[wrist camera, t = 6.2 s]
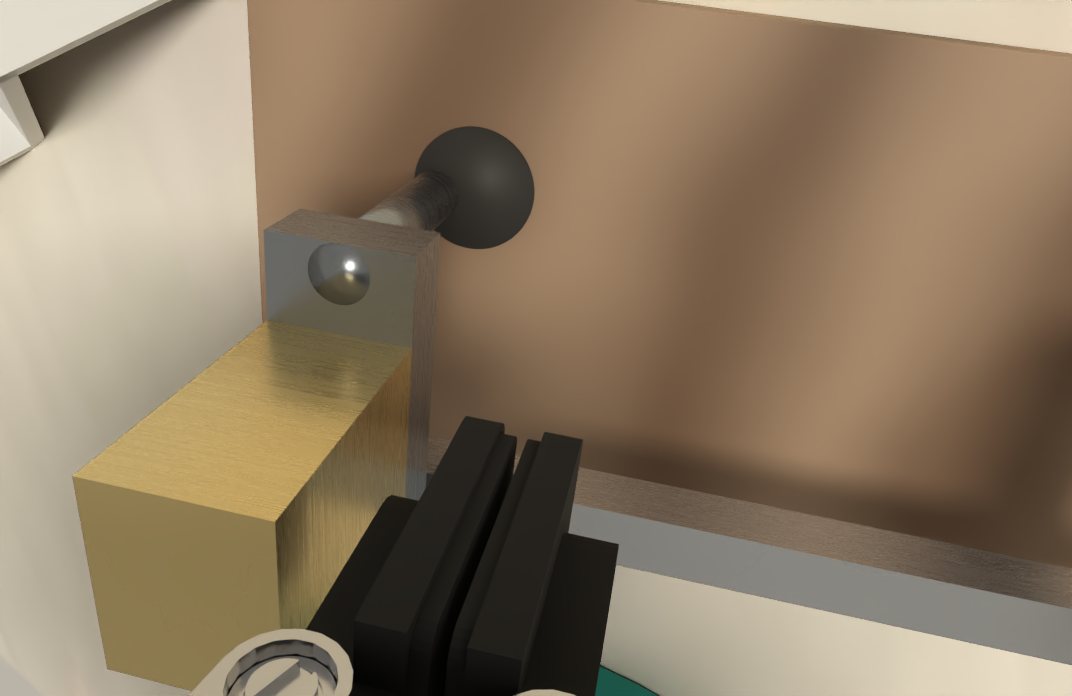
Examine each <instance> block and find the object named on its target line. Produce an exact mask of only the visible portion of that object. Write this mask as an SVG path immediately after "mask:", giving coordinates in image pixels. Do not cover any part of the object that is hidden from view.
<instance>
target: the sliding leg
mask: <svg viewBox="0 0 1072 696" xmlns="http://www.w3.org/2000/svg"><path fill="white" fill-rule="evenodd" d="M457 203H458V192H457V189H456V186H455V185H454V183H453V182H452V180H451V179H450V178H449V177H448V176H446V175H445V174H443V173H441V172H438V171H426V172H423V173H421V174H420V175H418V176H417V177H415V178H414V179H413V180H411V181H410V182H408V183H407V184H406V185H404V186H403V187H402V188H400V189H399V190H397V191H396V192H395V193H393V194H392V195H390V196H389V197H388V198H386V199H385V200H383V201H382V202H381V203H379V204H378V205H376V206H375V207H374V208H372V209H371V210H369V211H368V212H367V213H365V214H364V215H363V216H361V217H360V218H352V217H346V216H341V215H335V214H329V213H323V212H317V211H311V210H306V209H298V210H296V211H295V212H293V213H291V214H290V215H288V216H286V217H284V218H283V219H281V220H279V221H278V222H276V223H274V224H273V225H271V226H269V227H268V228H266V229H264V230H263V232H264V255H265V277H266V299H267V321H266V322H264V323H263V324H262V325H261V326H259V327H258V328H257V329H256V330H254V331H253V332H252V333H251V334H249V335H248V336H247V337H246V338H244V339H243V340H242V341H241V342H239V343H238V344H237V345H236V346H234V347H233V348H232V349H231V350H229V351H228V352H227V353H226V354H224V355H223V356H222V357H221V358H219V359H218V360H217V361H216V362H214V363H213V364H212V365H211V366H209V367H208V368H207V369H206V370H204V371H203V372H202V373H201V374H199V375H198V376H197V377H196V378H194V379H193V380H192V381H191V382H189V383H188V384H187V385H186V386H184V387H183V388H182V389H181V390H179V391H178V392H177V393H176V394H174V395H173V396H172V397H171V398H169V399H168V400H167V401H166V402H164V403H163V404H162V405H161V406H159V407H158V408H157V409H156V410H154V411H153V412H152V413H151V414H149V415H148V416H147V417H146V418H144V419H143V420H142V421H141V422H139V423H138V424H137V425H136V426H134V427H133V428H132V429H131V430H129V431H128V432H127V433H126V434H124V435H123V436H122V437H121V438H119V439H118V440H117V441H116V442H114V443H113V444H112V445H111V446H109V447H108V448H107V449H106V450H104V451H103V452H102V453H101V454H99V455H98V456H97V457H96V458H94V459H93V460H92V461H91V462H89V463H88V464H87V465H86V466H84V467H83V468H82V469H80V470H79V471H78V472H77V473H75V474H74V475H73V476H72V477H73V483H74V488H75V494H76V499H77V505H78V510H79V516H80V521H81V527H82V532H83V538H84V543H85V549H86V554H87V560H88V565H89V571H90V576H91V582H92V587H93V593H94V598H95V604H96V609H97V615H98V620H99V626H100V631H101V637H102V642H103V648H104V653H105V659H106V664H107V669H109V670H113V671H117V672H121V673H125V674H129V675H133V676H136V677H140V678H144V679H148V680H152V681H156V682H160V683H164V684H167V685H171V686H175V687H179V688H183V689H187V690H191V691H193V690H194V689H195V688H196V687H197V686H198V685H199V684H200V682H201V681H202V680H203V679H204V678H205V677H206V676H207V675H208V674H209V673H210V672H211V671H212V670H213V668H214V667H215V666H216V665H217V664H218V663H219V662H220V661H221V660H222V659H223V658H224V657H225V656H226V655H227V654H229V653H230V652H231V651H232V650H233V649H235V648H236V647H237V646H238V645H239V644H241V643H243V642H245V641H247V640H249V639H251V638H253V637H255V636H257V635H259V634H263V633H267V632H271V631H275V630H280V629H305V630H306V628H307V626H308V625H309V623H310V622H311V620H312V618H313V617H314V615H315V613H316V612H317V610H318V608H319V607H320V605H321V603H322V602H323V600H324V599H325V597H326V595H327V594H328V592H329V590H330V589H331V587H332V585H333V584H334V582H335V580H336V579H337V577H338V576H339V574H340V572H341V571H342V569H343V567H344V566H345V564H346V562H347V561H348V559H349V557H350V556H351V554H352V553H353V551H354V549H355V548H356V546H357V544H358V543H359V541H360V539H361V538H362V536H363V534H364V533H365V531H366V529H367V528H368V526H369V525H370V523H371V521H372V520H373V518H374V516H375V515H376V513H377V511H378V510H379V508H380V506H381V505H382V503H383V502H384V501H385V499H386V498H387V497H388V496H390V495H395V496H399V497H404V498H409V499H413V500H418V501H419V500H420V498H421V496H422V494H423V492H424V490H425V489H426V475H427V458H428V441H429V424H430V406H431V389H432V372H433V355H434V337H435V320H436V303H437V285H438V268H439V251H440V234H441V233H440V232H434V230H435V229H436V228H437V227H438V226H439V225H440V224H441V223H442V222H443V221H444V220H445V219H446V218H447V217H448V216H449V215H451V214H452V213H453V211H454V210H455V208H456V206H457Z"/></svg>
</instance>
